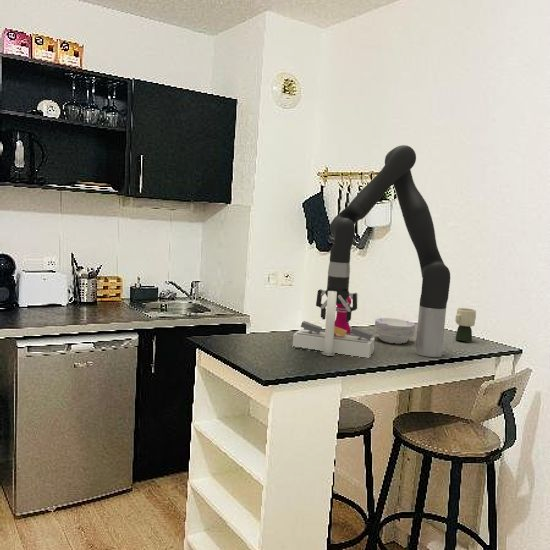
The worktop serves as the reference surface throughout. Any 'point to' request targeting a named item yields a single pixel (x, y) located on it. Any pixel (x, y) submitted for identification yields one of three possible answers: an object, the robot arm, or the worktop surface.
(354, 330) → the paddle
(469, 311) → the character mug
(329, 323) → the post
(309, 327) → the paddle
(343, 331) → the block
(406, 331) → the paper bowls
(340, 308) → the pepper mill
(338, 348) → the breaker panel
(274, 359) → the worktop surface
